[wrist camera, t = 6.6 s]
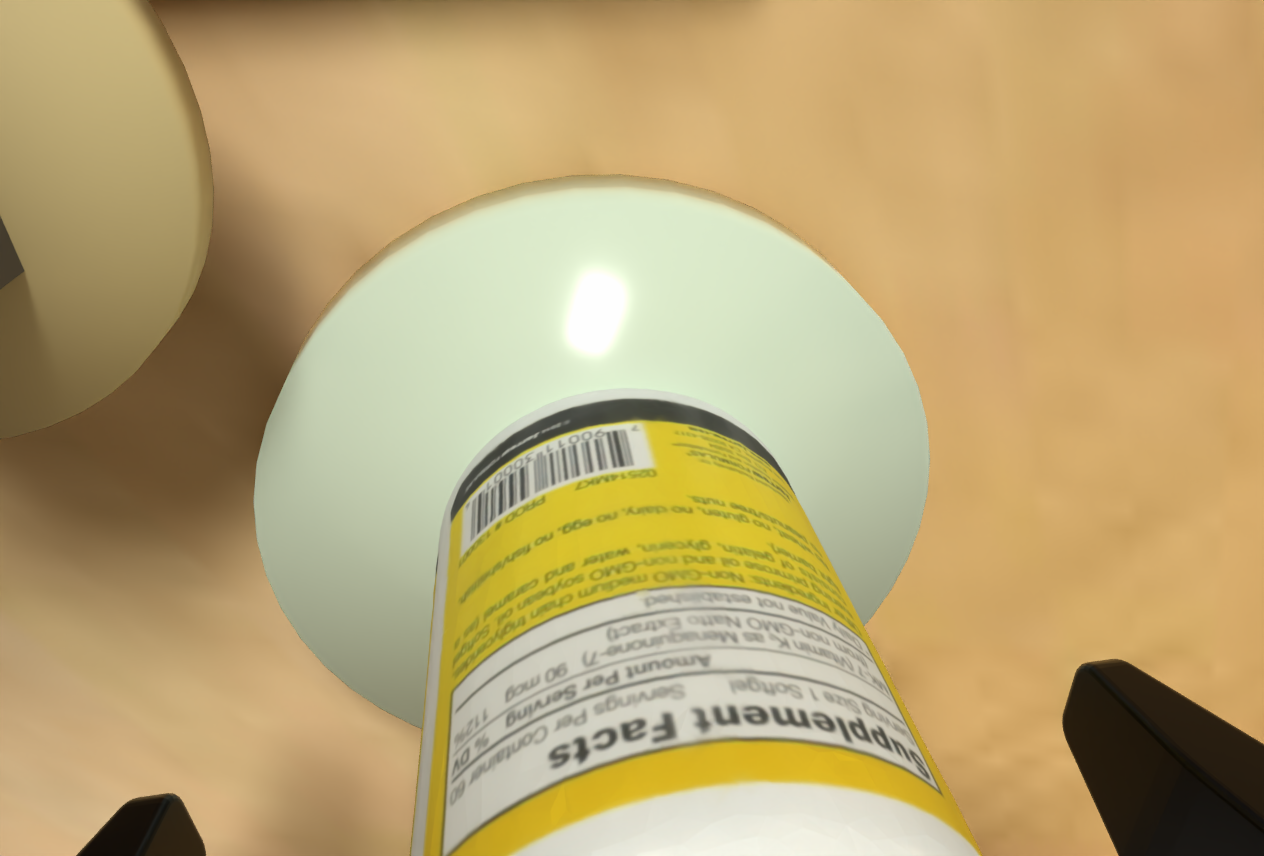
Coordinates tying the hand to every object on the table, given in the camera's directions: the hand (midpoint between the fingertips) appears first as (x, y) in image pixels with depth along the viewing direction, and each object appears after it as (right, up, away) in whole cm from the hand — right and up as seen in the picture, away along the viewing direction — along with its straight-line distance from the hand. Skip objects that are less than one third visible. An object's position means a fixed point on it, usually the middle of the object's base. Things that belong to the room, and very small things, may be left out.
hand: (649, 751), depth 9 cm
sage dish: (-1, +2, +4) cm, 5 cm away
